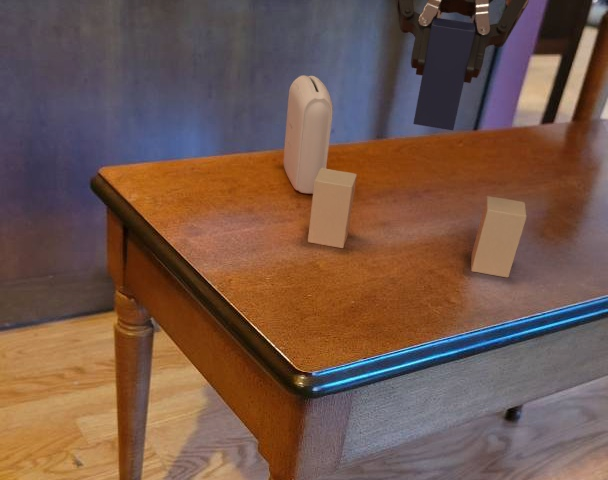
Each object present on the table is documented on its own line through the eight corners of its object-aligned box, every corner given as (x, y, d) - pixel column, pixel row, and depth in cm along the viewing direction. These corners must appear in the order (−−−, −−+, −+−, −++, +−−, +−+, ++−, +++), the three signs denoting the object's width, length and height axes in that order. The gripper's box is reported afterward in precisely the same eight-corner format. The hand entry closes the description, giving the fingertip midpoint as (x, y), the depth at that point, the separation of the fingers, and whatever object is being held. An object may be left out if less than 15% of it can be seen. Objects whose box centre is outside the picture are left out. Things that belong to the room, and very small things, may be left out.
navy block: (454, 119, 76) (475, 23, 71) (453, 130, 73) (475, 31, 68) (416, 113, 77) (434, 17, 71) (413, 124, 74) (431, 24, 68)
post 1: (348, 234, 84) (357, 173, 80) (343, 248, 81) (352, 186, 77) (313, 227, 84) (320, 167, 80) (307, 242, 81) (314, 180, 77)
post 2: (507, 261, 82) (524, 201, 78) (508, 278, 79) (526, 216, 75) (471, 255, 83) (487, 195, 79) (471, 271, 80) (487, 209, 75)
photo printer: (279, 164, 99) (287, 66, 92) (310, 165, 100) (321, 68, 93) (293, 195, 91) (303, 90, 84) (326, 196, 92) (339, 92, 85)
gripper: (406, -128, 70) (371, 38, 67) (559, -108, 68) (528, 62, 66) (401, -66, 77) (369, 85, 75) (539, -47, 76) (510, 107, 73)
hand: (444, 73), depth 70 cm, fingers closed on navy block, 4 cm apart
